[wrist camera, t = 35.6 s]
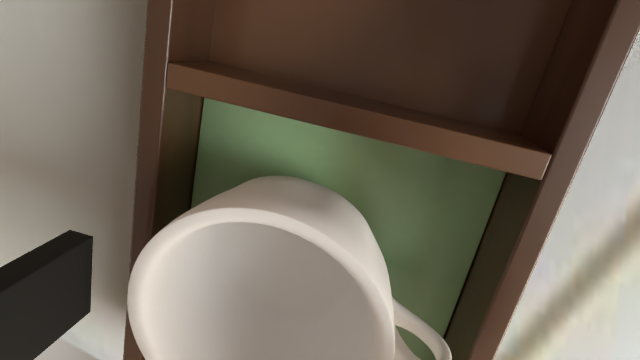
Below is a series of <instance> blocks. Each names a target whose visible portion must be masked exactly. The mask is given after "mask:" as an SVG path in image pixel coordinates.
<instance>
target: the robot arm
mask: <svg viewBox="0 0 640 360" xmlns="http://www.w3.org/2000/svg"><path fill="white" fill-rule="evenodd" d="M92 246H93V236H89V235H86V234H82V233H79V232H75V231H72V230H69V231H67V232H65V233H63V234H61V235H60V236H58V237H56V238H54V239H52V240H50V241H48V242H47V243H45V244H43V245H41V246H39V247H37V248H35V249H34V250H32V251H30V252H28V253H26V254H24V255H22V256H21V257H19V258H17V259H15V260H13V261H11V262H10V263H8V264H6V265H4V266H2V267H0V360H34V359H35V358H36V357H37V356H38V355H40V354H41V353H42V352H43V351H44V350H45V349H47V348H48V347H49V346H50V345H51V344H53V343H54V342H55V341H56V340H57V339H58V338H60V337H61V336H62V335H63V334H64V333H66V332H67V331H68V330H69V329H70V328H71V327H73V326H74V325H75V324H76V323H77V322H78V321H80V320H81V319H82V318H83V317H84V316H86V315H87V314H88V313H89V312H90V305H91V275H92Z"/></svg>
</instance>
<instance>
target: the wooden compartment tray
mask: <svg viewBox="0 0 640 360" xmlns="http://www.w3.org/2000/svg"><path fill="white" fill-rule="evenodd" d="M639 30H640V0H148V7H147V21H146V36H145V50H144V65H143V79H142V94H141V108H140V123H139V137H138V152H137V166H136V181H135V195H134V210H133V224H132V239H131V253H130V268H129V279H130V275H131V272H132V269H133V266H134V264H135V262H136V260H137V258H138V256H139V254H140V253H141V251H142V250H143V248H144V247H145V246H146V244H147V243H148V242H149V241H150V240H151V239H152V238H153V237H154V236H155V235H156V234H157V233H158V232H159V231H161V230H162V229H163V228H164V227H165V226H167V225H168V224H169V223H170V222H172V221H173V220H174V219H176V218H177V217H179V216H180V215H182V214H184V213H185V212H187V211H189V210H191V209H192V208H194V207H196V206H198V205H199V204H201V203H203V202H205V201H206V200H208V199H210V198H212V197H214V196H216V195H218V194H221V193H223V192H225V191H228V190H230V189H232V188H235V187H237V186H239V185H241V184H243V183H245V182H247V181H249V180H252V179H255V178H258V177H264V176H291V177H297V178H301V179H304V180H308V181H311V182H314V183H317V184H319V185H322V186H324V187H326V188H328V189H330V190H332V191H334V192H336V193H338V194H339V195H341V196H342V197H344V198H345V199H346V200H348V201H349V202H350V203H351V204H352V205H353V206H354V207H355V208H356V209H357V210H358V211H359V212H360V213H361V214H362V216H363V217H364V218H365V220H366V222H367V223H368V225H369V227H370V229H371V231H372V233H373V235H374V237H375V239H376V242H377V244H378V246H379V248H380V250H381V252H382V255H383V257H384V260H385V263H386V266H387V271H388V275H389V281H390V287H391V294H392V297H393V298H394V299H395V300H396V301H397V302H399V303H400V304H401V305H403V306H404V307H405V308H407V309H408V310H409V311H411V312H412V313H414V314H415V315H416V316H418V317H419V318H420V319H422V320H423V321H424V322H425V323H427V324H428V325H429V326H430V327H431V328H433V329H434V330H435V331H436V332H437V333H438V334H439V335H440V336H441V337H442V338H443V339H444V340H445V342H446V343H447V345H448V346H449V348H450V352H451V357H452V360H494V358H495V356H496V353H497V351H498V349H499V346H500V344H501V342H502V340H503V337H504V335H505V333H506V331H507V328H508V326H509V324H510V322H511V319H512V317H513V315H514V312H515V310H516V308H517V306H518V303H519V301H520V299H521V297H522V294H523V292H524V290H525V288H526V285H527V283H528V281H529V279H530V276H531V274H532V272H533V269H534V267H535V265H536V263H537V260H538V258H539V256H540V254H541V251H542V249H543V247H544V245H545V242H546V240H547V238H548V236H549V233H550V231H551V229H552V226H553V224H554V222H555V220H556V217H557V215H558V213H559V211H560V208H561V206H562V204H563V202H564V199H565V197H566V195H567V193H568V190H569V188H570V186H571V183H572V181H573V179H574V177H575V174H576V172H577V170H578V168H579V165H580V163H581V161H582V159H583V156H584V154H585V152H586V149H587V147H588V145H589V143H590V140H591V138H592V136H593V134H594V131H595V129H596V127H597V125H598V122H599V120H600V118H601V116H602V113H603V111H604V109H605V106H606V104H607V102H608V100H609V97H610V95H611V93H612V91H613V88H614V86H615V84H616V82H617V79H618V77H619V75H620V73H621V70H622V68H623V66H624V63H625V61H626V59H627V57H628V54H629V52H630V50H631V48H632V45H633V43H634V41H635V39H636V36H637V34H638V32H639ZM128 284H129V282H128ZM395 327H396V328H397V330H398V332H399V334H400V336H401V338H402V339H403V341H404V343H405V344H406V345H407V347H408V348H409V349H410V350H411V352H412V353H413V354H414V355H415V356H417V357H418V358H419V359H421V360H436V359H435V356H434V354H433V352H432V351H431V349H430V348H429V347H428V346H427V345H426V344H425V343H424V342H423V341H422V340H421V339H420V338H419V337H417V336H416V335H415V334H413V333H411V332H410V331H408V330H406V329H404V328H401V327H399V326H396V325H395ZM123 360H145V358H144V356H143V355H142V353H141V351H140V349H139V347H138V345H137V342H136V340H135V338H134V335H133V332H132V329H131V325H130V321H129V316H128V308H127V311H126V326H125V340H124V355H123Z"/></svg>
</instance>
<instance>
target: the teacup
mask: <svg viewBox="0 0 640 360" xmlns="http://www.w3.org/2000/svg"><path fill="white" fill-rule="evenodd" d="M127 308H128V316H129V321H130V325H131V329H132V332H133V335H134V338H135V340H136V342H137V345H138V347H139V349H140V351H141V353H142V355H143V356H144V358H145V360H421V359H419V358H418V357H417V356H415V355H414V354H413V353H412V352H411V350H410V349H409V348H408V347H407V345H406V344H405V343H404V341H403V339H402V338H401V336H400V334H399V332H398V330H397V328H396V327H395V325H396V326H399V327H401V328H404V329H406V330H408V331H410V332H411V333H413V334H415V335H416V336H417V337H419V338H420V339H421V340H422V341H423V342H424V343H425V344H426V345H427V346H428V347H429V348H430V349H431V351H432V352H433V354H434V356H435V359H436V360H452V357H451V352H450V348H449V346H448V345H447V343H446V342H445V340H444V339H443V338H442V337H441V336H440V335H439V334H438V333H437V332H436V331H435V330H434V329H433V328H431V327H430V326H429V325H428V324H427V323H425V322H424V321H423V320H422V319H420V318H419V317H418V316H416V315H415V314H414V313H412V312H411V311H409V310H408V309H407V308H405V307H404V306H403V305H401V304H400V303H399V302H397V301H396V300H395V299H394V298H393V297H392V294H391V287H390V281H389V275H388V271H387V266H386V263H385V260H384V257H383V255H382V252H381V250H380V248H379V246H378V244H377V242H376V239H375V237H374V235H373V233H372V231H371V229H370V227H369V225H368V223H367V222H366V220H365V218H364V217H363V216H362V214H361V213H360V212H359V211H358V210H357V209H356V208H355V207H354V206H353V205H352V204H351V203H350V202H349V201H348V200H346V199H345V198H344V197H342V196H341V195H339V194H338V193H336V192H334V191H332V190H330V189H328V188H326V187H324V186H322V185H319V184H317V183H314V182H311V181H308V180H304V179H301V178H297V177H291V176H264V177H258V178H255V179H252V180H249V181H247V182H245V183H243V184H241V185H239V186H237V187H235V188H232V189H230V190H228V191H225V192H223V193H221V194H218V195H216V196H214V197H212V198H210V199H208V200H206V201H205V202H203V203H201V204H199V205H198V206H196V207H194V208H192V209H191V210H189V211H187V212H185V213H184V214H182V215H180V216H179V217H177V218H176V219H174V220H173V221H172V222H170V223H169V224H168V225H167V226H165V227H164V228H163V229H162V230H161V231H159V232H158V233H157V234H156V235H155V236H154V237H153V238H152V239H151V240H150V241H149V242H148V243H147V244H146V246H145V247H144V248H143V250H142V251H141V253H140V254H139V256H138V258H137V260H136V262H135V264H134V266H133V269H132V272H131V275H130V279H129V284H128V292H127Z"/></svg>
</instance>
